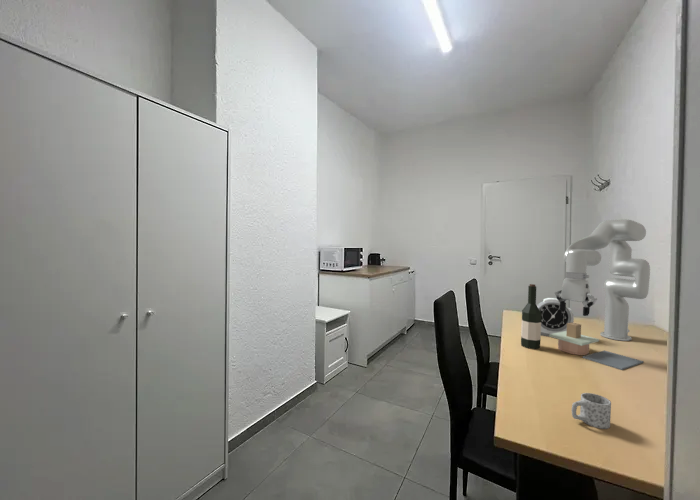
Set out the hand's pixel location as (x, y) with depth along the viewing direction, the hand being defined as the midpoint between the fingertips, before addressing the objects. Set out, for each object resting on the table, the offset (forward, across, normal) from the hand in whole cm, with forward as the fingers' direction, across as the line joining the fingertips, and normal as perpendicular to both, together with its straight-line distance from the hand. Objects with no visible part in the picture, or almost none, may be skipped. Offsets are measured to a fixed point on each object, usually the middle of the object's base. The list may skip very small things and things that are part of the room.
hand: (573, 313), depth 143 cm
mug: (+19, -35, +57) cm, 70 cm away
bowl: (+18, 0, -1) cm, 18 cm away
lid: (+12, 0, -1) cm, 12 cm away
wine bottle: (+18, +12, +12) cm, 25 cm away
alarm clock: (+18, +18, -15) cm, 29 cm away
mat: (+18, -14, -4) cm, 23 cm away
